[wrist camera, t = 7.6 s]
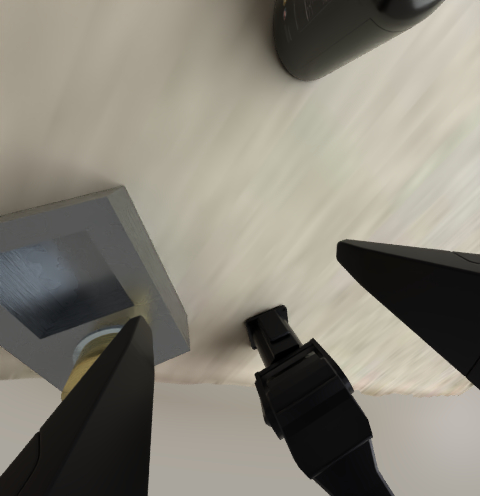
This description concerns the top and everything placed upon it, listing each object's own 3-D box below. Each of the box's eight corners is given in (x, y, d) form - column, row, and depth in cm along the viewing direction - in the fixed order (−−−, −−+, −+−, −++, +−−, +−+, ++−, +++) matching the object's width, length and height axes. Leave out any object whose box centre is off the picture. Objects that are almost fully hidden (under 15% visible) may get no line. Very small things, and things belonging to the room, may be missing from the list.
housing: (187, 315, 24) (190, 352, 19) (92, 351, 22) (72, 402, 17) (124, 185, 16) (105, 197, 11) (-32, 223, 14) (-128, 255, 9)
